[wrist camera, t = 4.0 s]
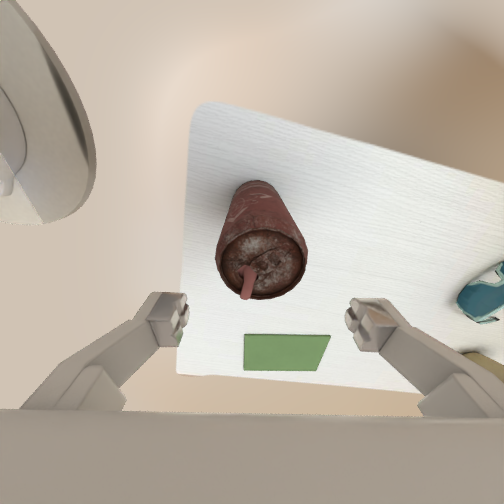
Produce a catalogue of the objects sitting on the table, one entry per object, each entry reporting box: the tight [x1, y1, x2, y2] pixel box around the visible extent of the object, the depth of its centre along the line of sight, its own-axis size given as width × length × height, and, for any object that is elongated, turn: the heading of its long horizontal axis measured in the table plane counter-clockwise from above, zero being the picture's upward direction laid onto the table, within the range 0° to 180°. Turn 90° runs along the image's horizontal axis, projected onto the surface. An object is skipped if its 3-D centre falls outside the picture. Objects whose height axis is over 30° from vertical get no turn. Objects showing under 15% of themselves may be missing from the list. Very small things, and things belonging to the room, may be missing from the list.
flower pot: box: [463, 352, 504, 383], centre depth 39 cm, size 10×10×7 cm
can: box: [215, 180, 308, 300], centre depth 17 cm, size 6×6×14 cm
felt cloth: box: [244, 334, 331, 371], centre depth 41 cm, size 18×14×1 cm
